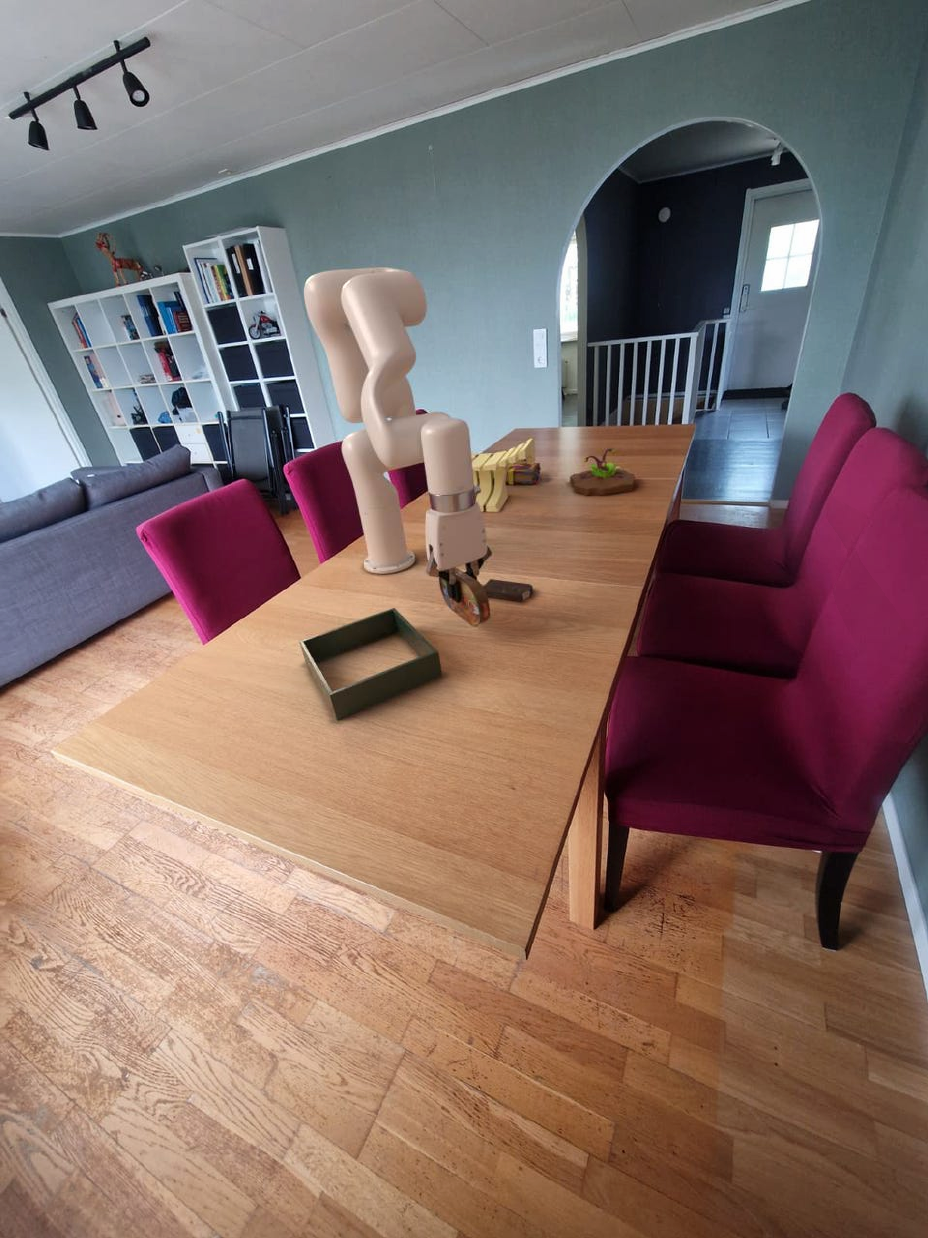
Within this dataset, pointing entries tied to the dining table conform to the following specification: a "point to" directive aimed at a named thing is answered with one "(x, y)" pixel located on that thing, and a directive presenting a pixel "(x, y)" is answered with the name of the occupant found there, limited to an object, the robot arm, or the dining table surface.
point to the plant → (603, 478)
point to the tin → (468, 599)
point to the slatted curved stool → (498, 473)
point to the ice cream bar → (507, 590)
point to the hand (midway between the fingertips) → (463, 596)
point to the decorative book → (523, 473)
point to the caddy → (381, 683)
